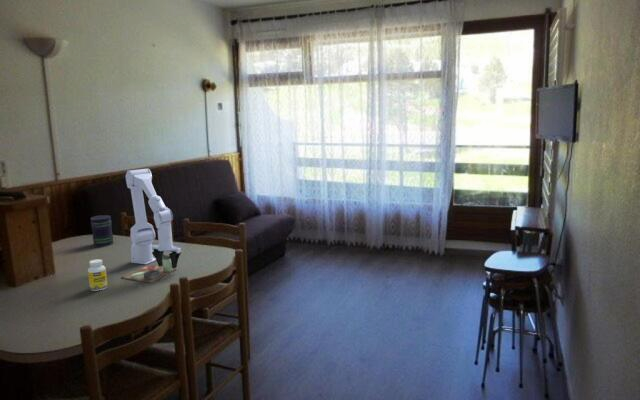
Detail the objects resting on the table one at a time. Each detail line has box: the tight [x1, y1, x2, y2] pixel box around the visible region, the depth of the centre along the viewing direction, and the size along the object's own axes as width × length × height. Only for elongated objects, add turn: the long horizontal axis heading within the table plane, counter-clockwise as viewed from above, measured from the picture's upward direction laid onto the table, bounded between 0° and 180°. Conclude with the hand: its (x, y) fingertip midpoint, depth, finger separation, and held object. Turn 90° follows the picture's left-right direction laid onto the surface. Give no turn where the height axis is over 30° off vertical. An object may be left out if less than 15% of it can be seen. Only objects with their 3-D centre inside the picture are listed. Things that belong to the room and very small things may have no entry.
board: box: [120, 264, 177, 283], centre depth 204 cm, size 16×16×3 cm
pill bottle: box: [87, 258, 108, 292], centre depth 188 cm, size 6×6×12 cm
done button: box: [146, 264, 156, 271], centre depth 198 cm, size 3×3×2 cm
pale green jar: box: [162, 253, 173, 272], centre depth 206 cm, size 4×4×7 cm
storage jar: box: [90, 214, 114, 248], centre depth 249 cm, size 10×10×15 cm
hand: (167, 266), depth 207 cm, fingers open, 7 cm apart
